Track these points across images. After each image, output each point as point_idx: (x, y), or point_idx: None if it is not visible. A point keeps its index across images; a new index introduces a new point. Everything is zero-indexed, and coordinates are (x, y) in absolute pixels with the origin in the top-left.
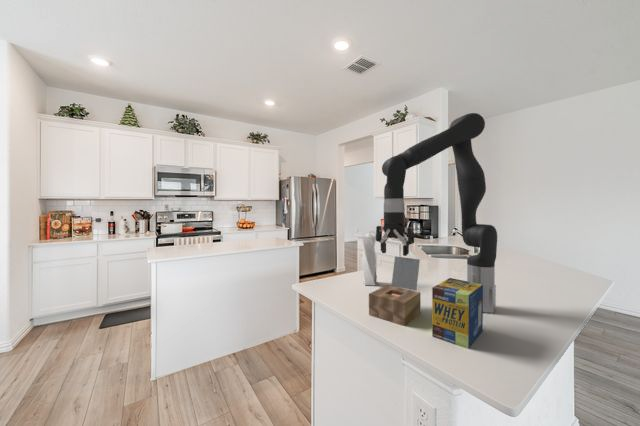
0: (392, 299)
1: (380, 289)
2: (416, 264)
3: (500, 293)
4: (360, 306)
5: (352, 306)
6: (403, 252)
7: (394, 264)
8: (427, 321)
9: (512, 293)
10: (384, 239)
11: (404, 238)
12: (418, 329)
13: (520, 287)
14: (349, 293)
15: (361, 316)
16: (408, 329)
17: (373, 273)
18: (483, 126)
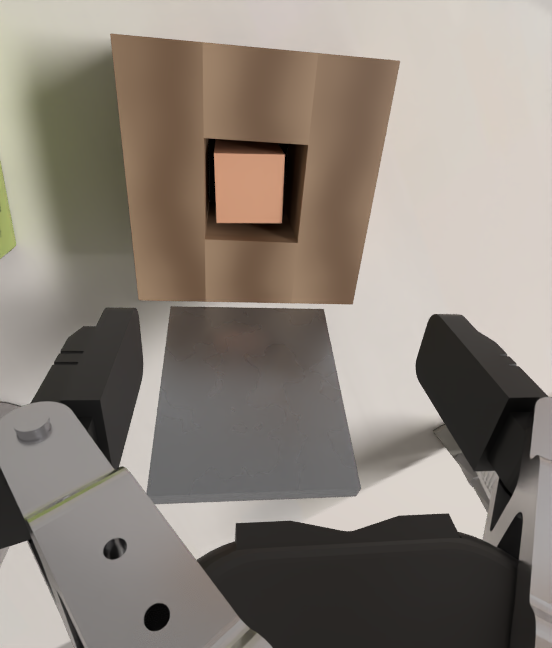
0: (208, 46)
1: (358, 206)
2: (166, 451)
3: (30, 577)
4: (437, 149)
5: (477, 120)
6: (120, 328)
7: (344, 425)
8: (86, 179)
9: (4, 593)
10: (539, 462)
11: (47, 575)
12: (67, 46)
13: (13, 640)
14: (539, 277)
15: (387, 9)
16: (104, 7)
17: (486, 472)
18: None
